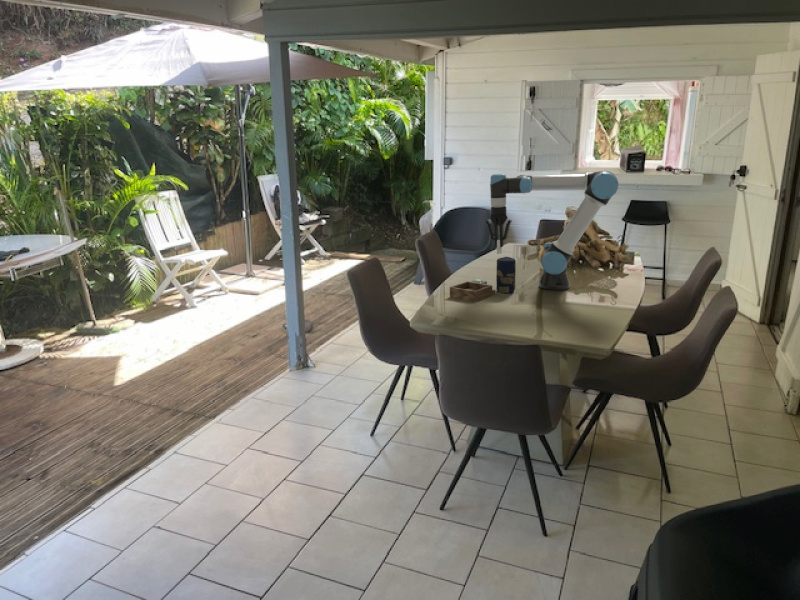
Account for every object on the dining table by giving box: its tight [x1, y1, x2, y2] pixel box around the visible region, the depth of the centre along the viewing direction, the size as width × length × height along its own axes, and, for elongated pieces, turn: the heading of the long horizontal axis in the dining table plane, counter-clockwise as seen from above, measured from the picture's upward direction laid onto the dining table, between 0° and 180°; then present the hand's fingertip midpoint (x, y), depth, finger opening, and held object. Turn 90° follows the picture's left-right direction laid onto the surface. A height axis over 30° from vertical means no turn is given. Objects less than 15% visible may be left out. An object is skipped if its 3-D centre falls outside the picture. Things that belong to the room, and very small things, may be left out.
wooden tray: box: [449, 280, 497, 303], centre depth 302 cm, size 15×18×5 cm
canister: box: [495, 256, 517, 294], centre depth 306 cm, size 10×10×18 cm
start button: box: [474, 278, 482, 283], centre depth 315 cm, size 4×4×4 cm
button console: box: [469, 279, 488, 285], centre depth 316 cm, size 7×7×4 cm
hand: (499, 253), depth 306 cm, fingers closed
